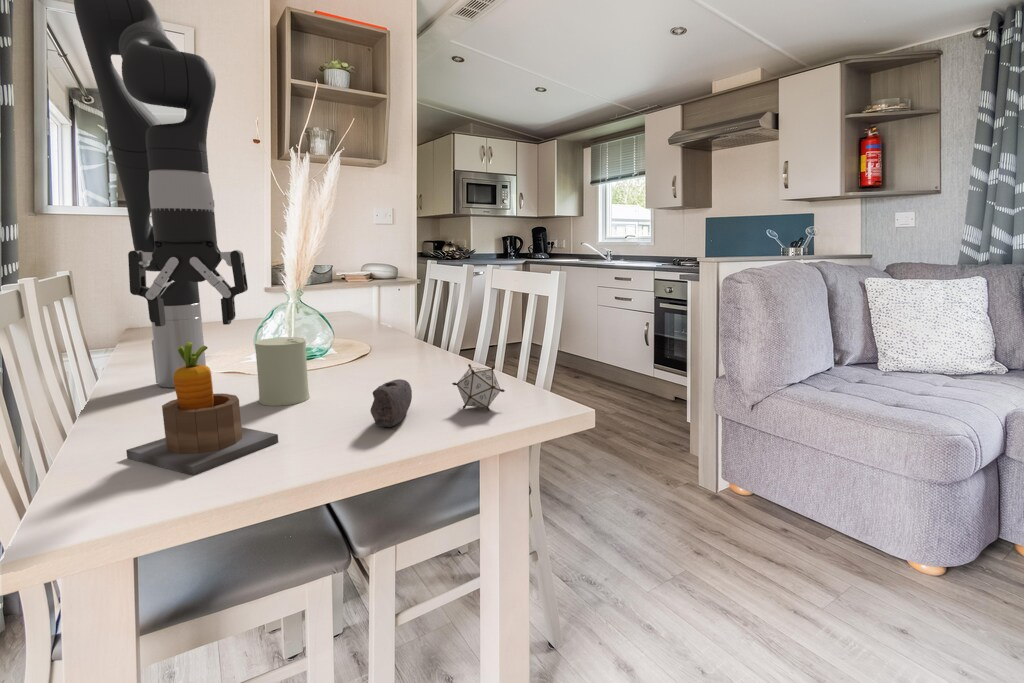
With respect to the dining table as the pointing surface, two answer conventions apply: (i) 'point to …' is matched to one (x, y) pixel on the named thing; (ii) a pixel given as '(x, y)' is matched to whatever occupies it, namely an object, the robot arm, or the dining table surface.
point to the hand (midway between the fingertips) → (194, 324)
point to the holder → (201, 437)
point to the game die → (478, 387)
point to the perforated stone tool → (391, 402)
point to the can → (282, 371)
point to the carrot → (193, 381)
